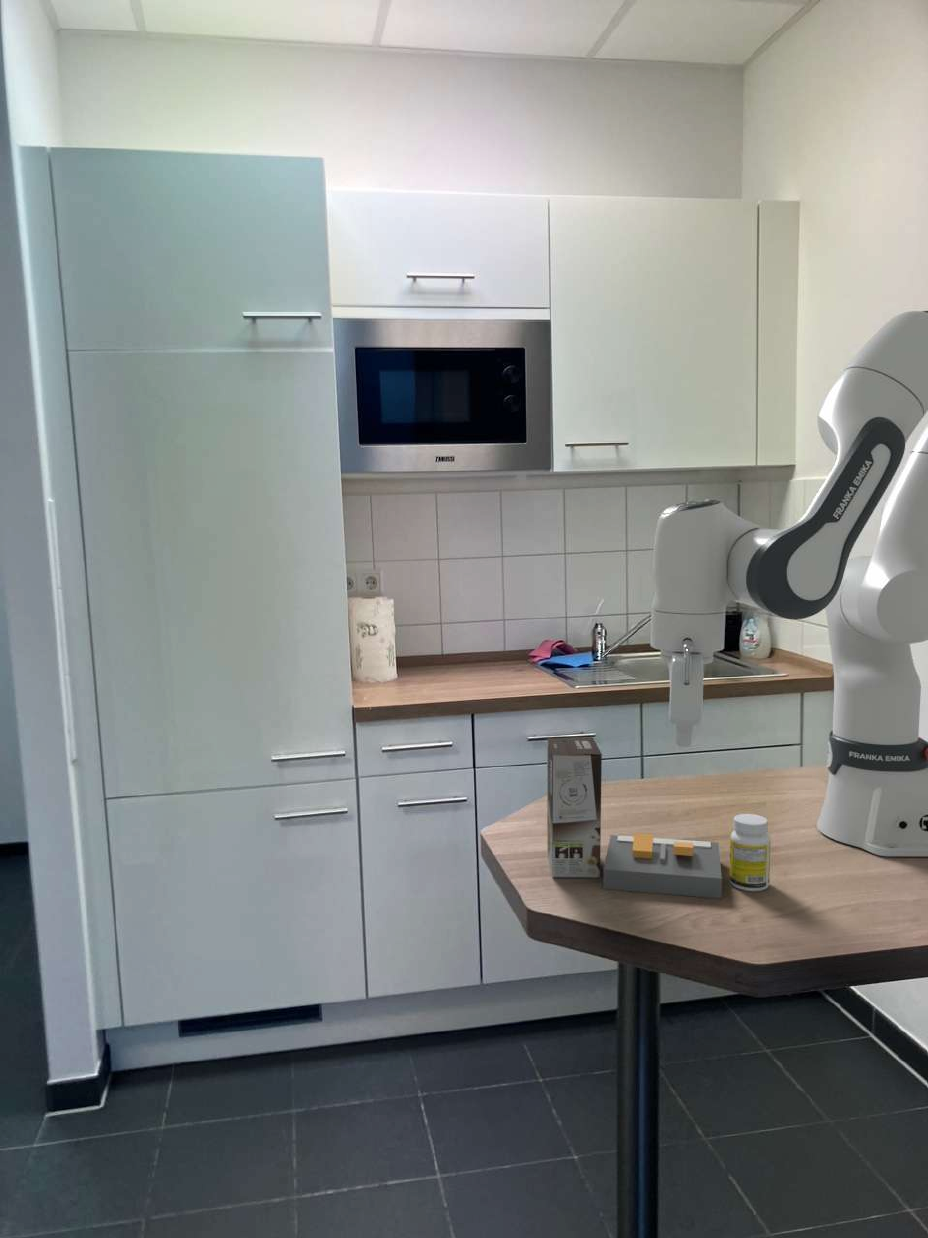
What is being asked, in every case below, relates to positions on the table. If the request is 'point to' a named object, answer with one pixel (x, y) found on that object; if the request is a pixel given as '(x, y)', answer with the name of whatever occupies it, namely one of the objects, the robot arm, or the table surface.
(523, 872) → the table surface
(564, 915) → the table surface
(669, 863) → the switch strip
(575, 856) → the coffee box
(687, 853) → the orange rectangular block
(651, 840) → the paddle
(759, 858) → the supplement bottle
